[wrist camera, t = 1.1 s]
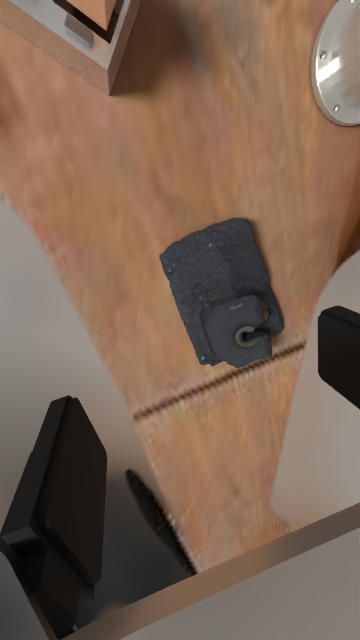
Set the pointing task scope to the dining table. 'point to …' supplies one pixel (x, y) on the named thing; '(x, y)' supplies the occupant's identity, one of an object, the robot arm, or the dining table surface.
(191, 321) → the dark slate chunk
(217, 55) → the dining table surface
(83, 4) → the button square
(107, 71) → the mount
